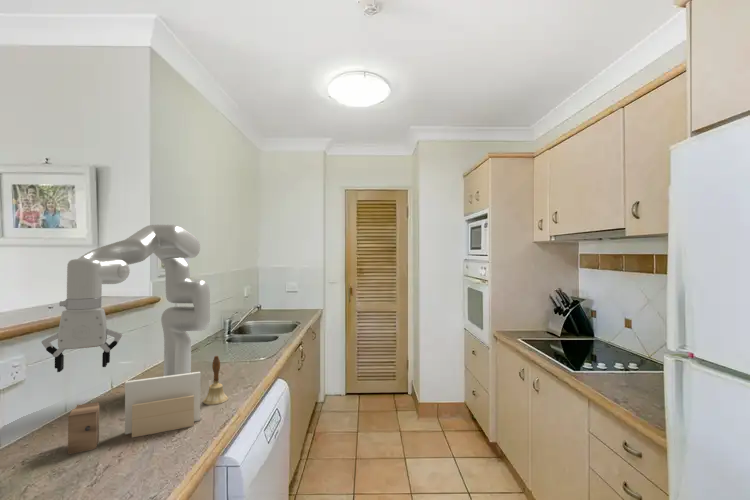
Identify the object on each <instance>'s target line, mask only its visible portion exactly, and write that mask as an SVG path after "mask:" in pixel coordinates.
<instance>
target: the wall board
mask: <svg viewBox="0 0 750 500" xmlns="http://www.w3.org/2000/svg"><path fill="white" fill-rule="evenodd" d="M124 394H125V395H124V435H129V434H131V438H137V437H142V436H149V435H153V434H158V433H163V432H169V431H174V430H178V429H183V428H184V429H185V428H189V427H194V424H195V422H199V421H201V371H194V372H193V371H192V372H191V373H186V374H178V375H170V376H164V375H163V376H156V377H149V378H140V379H134V380H133V379H132V380H126V381H125V384H124Z"/></svg>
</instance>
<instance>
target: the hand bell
mask: <svg viewBox="0 0 750 500" xmlns="http://www.w3.org/2000/svg"><path fill="white" fill-rule="evenodd" d="M220 369H221V361H220V358H219V355H215V356H214V357H213V360H212V371H213V383H212V384H210V385H209V389H208V392H207V395H206V397H205V398H204V399H203V400H202V403H203V404H204V405H209V406H213V405H214V406H216V405H221V404H225V403H226V402H227V401H228V400H229V397H228V396H227V394H225V392H224V388H223V387H224V386H223V384H222V383H220V382H219V381H220V380H219V379H220V376H219V373H220Z"/></svg>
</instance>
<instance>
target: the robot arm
mask: <svg viewBox="0 0 750 500" xmlns="http://www.w3.org/2000/svg"><path fill="white" fill-rule="evenodd" d="M200 251H201V243H200V241H199V240H198V238H197V236H195V235H194V234H193V233H190V232H189V231H188V230H186V229H185V228H183V227H181V226H179V225H177V224H149V225H146V226H144V227H142V228H141V229H140V230H137V231H136V232H135V233H133V234H132V235H130V236H129V237H127V238H126V239H123V240H119V241H116V242H113V243H110V244H105V245H103V246H100V247H96V248H94V249H92V250H90V251H88V252H87V253H85V254H83V255H82V256H79V258H75V259H71V260H69V261H68V263H67V267H66V268H67V269H66V298H65V300H61V301H59V307H64V308H65V309H64V310H62V311H61V315H60V320H59V324H58V332H57V333H55V334H52V335H51V336H49V337H47V338H44V339H43V340H42V341H41V344H42V345H43V347H44V348H45V350H46V352H48V353H49V354H51V355H52V356H53V357H54V369H56V372H57V373H60V372H62V371H63V370H64V367H65V365H64V364H65V362H64V359H65V358H64V357H65V354H63V352H64V351H65V350H76V349H88V348H98V347H100V348H101V349H102V350H103V352H102V356H101V357H102V360H101V362H102V365H101V367H102V368H106V367H107V365H108V364H109V363H110V361H111V351H112V349H114V348H115V347H116V346H117V345H118V344H119V341H120V340H121V338H122V337H123V333H120V332H117V331H114V330H112V329H109V328H107V327H108V326H107V325H108V324H107V317H106V312H105V308H103V307H102V294H103V293H102V289H103V288H102V285H117V284H121V283H123V282H124V281H126V280H127V279H128V277H129V275H130V273H131V272H130V271H131V269H130V265H134V264H138V263H142V262H143V261H145V260H146V259H147V258H149V257H150V256H152V254H154V255H155V256H156V257H157V258H158V259H159V260H160V261H161V263H162V264H163V268H164V272H165V273H164V274H165V299H166V300H167V301H168V302H169V303H171V304H193V306H171V307H168V308H166V309H164V311H163V312H162V314H161V319H160V321H161V328H162V331H163V376H170V375H178V374H186V373H192V339H191V337H190V335H189V334H188V332H202V331H206V329H208V327H209V325H210V320H211V299H210V298H211V294H210V293H211V291H210V286H209V284H208V282H207V281H205V280H203V279H197V278H196V279H195V278H194V279H192V278H190V265H189V264H188V262H187V260H186V259H193V258H196V257H197V256H198V255H199V254H200ZM108 336H111V337H113V338H114V339H113V341H112V342H111V343H110V344H109V343H108V342H107V339H108ZM55 340H57V347H58V348H56V347H55V346H53V344H52V342H53V341H55Z"/></svg>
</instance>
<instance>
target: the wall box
mask: <svg viewBox="0 0 750 500" xmlns="http://www.w3.org/2000/svg"><path fill="white" fill-rule="evenodd" d="M67 418H68V419H67V420H68V421H67V423H68V424H67V428H68V429H67V454H68V455H71V454H76V453H81V452H86V451H91V450H97V447H98V445H99V442H100V402H99V401H96V402H90V403H89V402H88V403H82V404H77V405H76V406H75V408H73V409H71V411H70V413H69V415H68V416H67Z"/></svg>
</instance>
